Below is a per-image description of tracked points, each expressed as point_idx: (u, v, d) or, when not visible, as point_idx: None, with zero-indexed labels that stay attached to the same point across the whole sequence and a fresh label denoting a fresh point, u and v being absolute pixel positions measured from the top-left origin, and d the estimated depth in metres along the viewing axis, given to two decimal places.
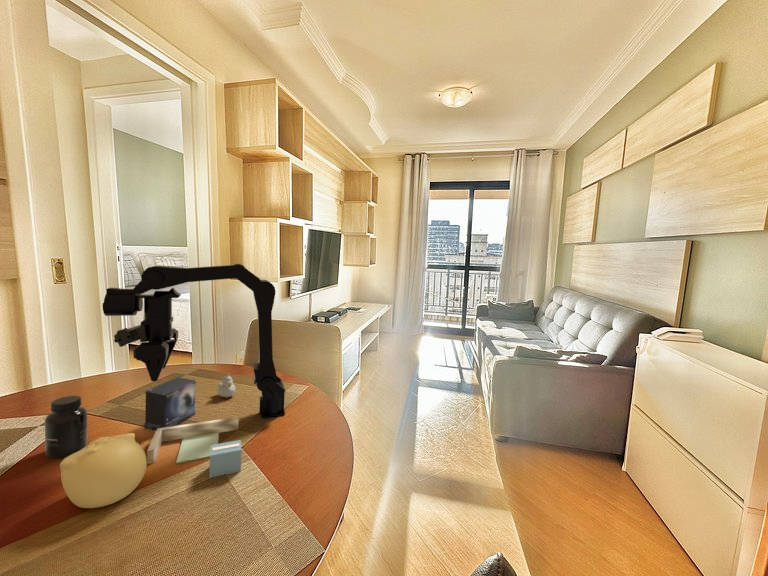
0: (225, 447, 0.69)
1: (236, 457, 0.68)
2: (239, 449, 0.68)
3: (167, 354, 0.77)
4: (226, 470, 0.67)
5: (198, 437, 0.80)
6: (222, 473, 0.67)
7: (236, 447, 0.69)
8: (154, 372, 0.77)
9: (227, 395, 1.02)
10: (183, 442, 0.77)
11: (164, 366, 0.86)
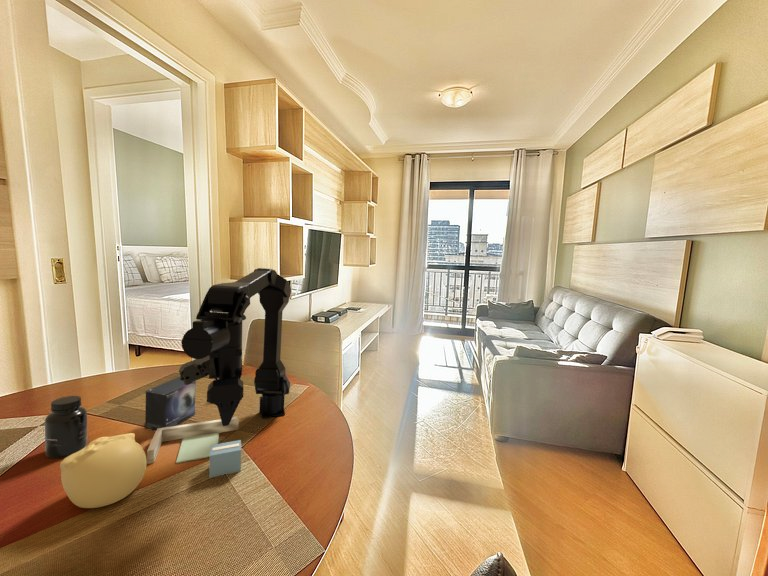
0: (225, 447, 0.69)
1: (236, 457, 0.68)
2: (239, 449, 0.68)
3: None
4: (226, 470, 0.67)
5: (198, 437, 0.80)
6: (222, 473, 0.67)
7: (236, 447, 0.69)
8: (226, 415, 0.63)
9: None
10: (183, 442, 0.77)
11: None
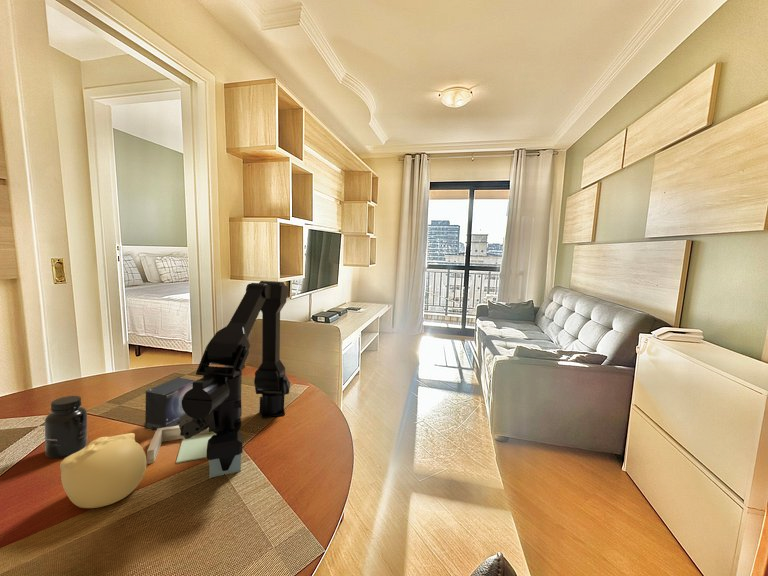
0: None
1: (236, 456, 0.68)
2: None
3: None
4: None
5: (198, 437, 0.80)
6: (222, 472, 0.67)
7: None
8: (226, 461, 0.66)
9: None
10: (183, 442, 0.77)
11: None
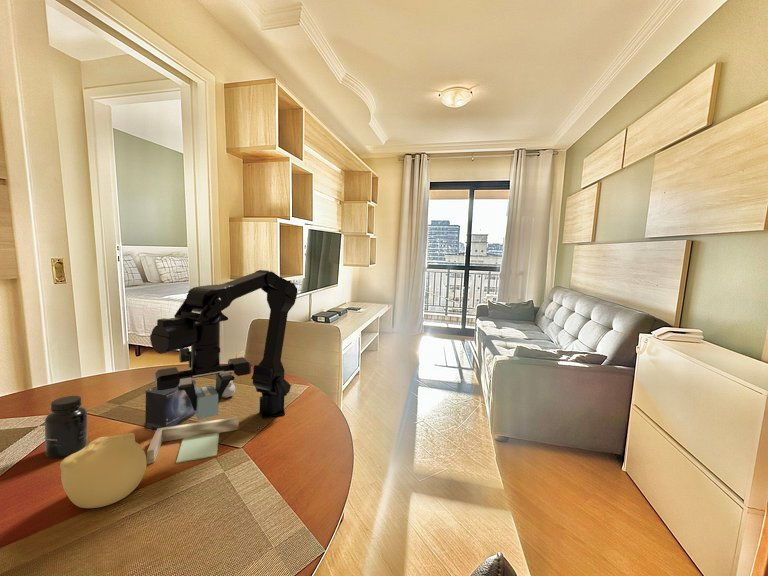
0: (204, 390, 0.73)
1: (197, 403, 0.71)
2: (199, 397, 0.70)
3: (188, 386, 0.68)
4: None
5: (198, 437, 0.80)
6: (195, 411, 0.73)
7: (203, 395, 0.71)
8: (190, 401, 0.71)
9: (227, 395, 1.02)
10: (183, 442, 0.77)
11: None
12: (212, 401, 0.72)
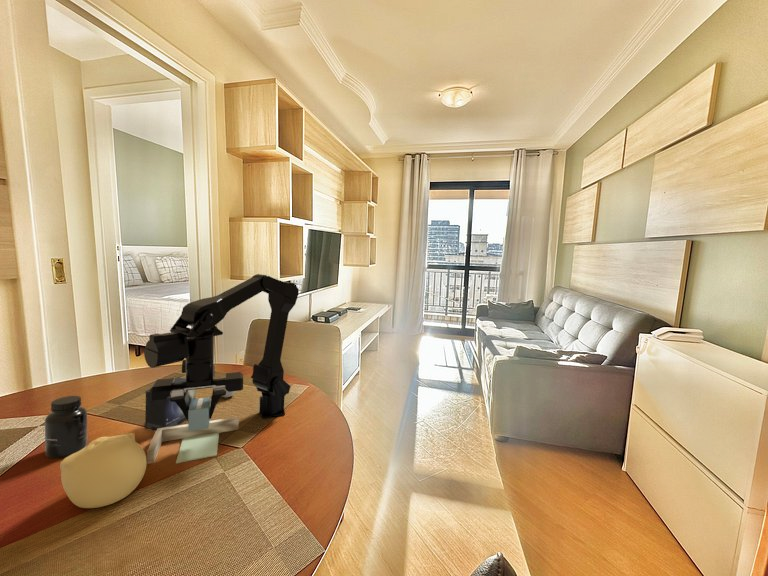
0: (199, 403, 0.75)
1: None
2: (190, 409, 0.72)
3: (179, 399, 0.71)
4: None
5: (198, 437, 0.80)
6: None
7: (194, 408, 0.73)
8: None
9: (227, 395, 1.02)
10: (183, 442, 0.77)
11: (209, 416, 0.76)
12: (202, 414, 0.73)
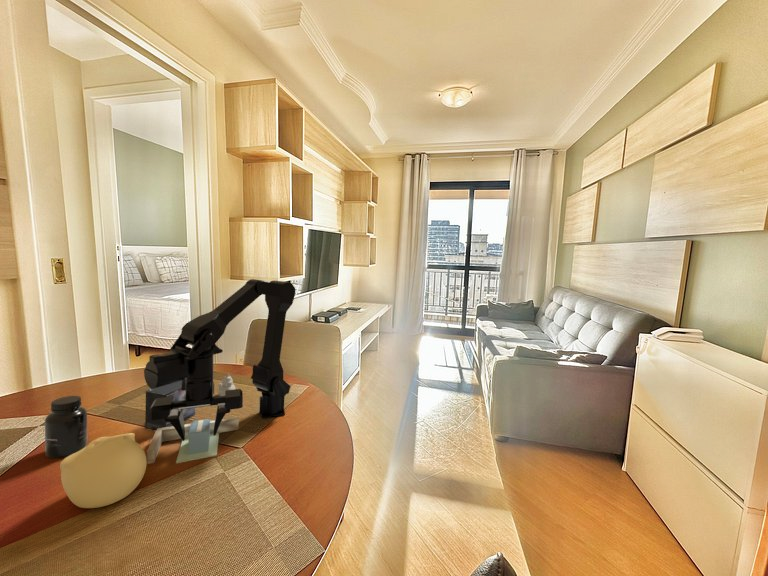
0: (199, 425, 0.76)
1: (189, 438, 0.73)
2: (190, 433, 0.73)
3: (173, 418, 0.71)
4: None
5: None
6: None
7: (194, 431, 0.74)
8: None
9: None
10: (183, 442, 0.77)
11: None
12: (202, 437, 0.74)
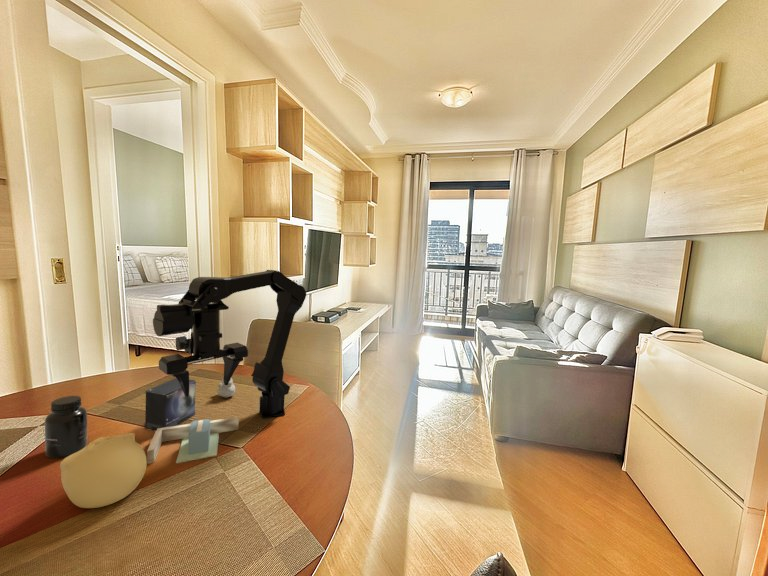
0: (199, 425, 0.76)
1: (189, 438, 0.73)
2: (190, 433, 0.73)
3: (183, 373, 0.71)
4: None
5: None
6: None
7: (194, 431, 0.74)
8: (182, 387, 0.74)
9: (227, 395, 1.02)
10: (183, 442, 0.77)
11: (226, 383, 0.82)
12: (202, 437, 0.74)
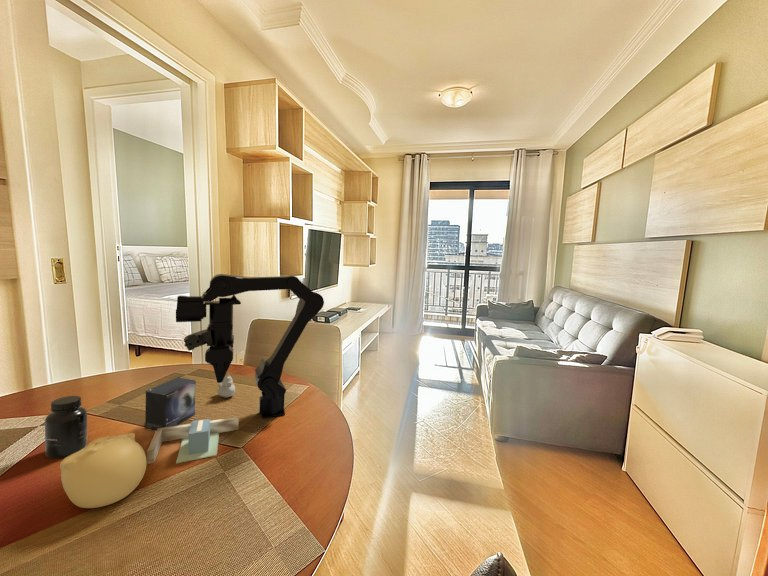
0: (199, 425, 0.76)
1: (189, 438, 0.73)
2: (190, 433, 0.73)
3: None
4: None
5: None
6: None
7: (194, 431, 0.74)
8: (220, 374, 0.82)
9: (227, 395, 1.02)
10: (183, 442, 0.77)
11: None
12: (202, 437, 0.74)
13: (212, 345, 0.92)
